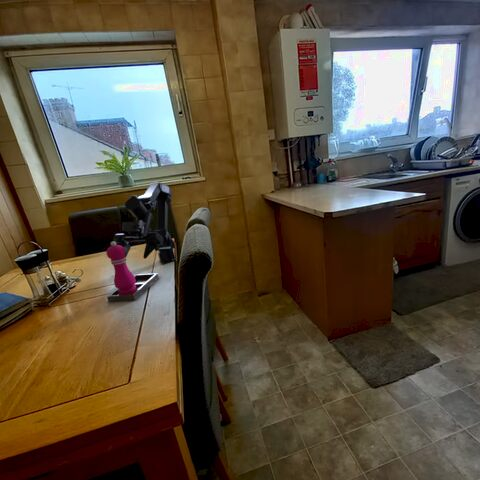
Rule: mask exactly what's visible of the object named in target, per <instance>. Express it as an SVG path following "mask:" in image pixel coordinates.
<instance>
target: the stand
mask: <svg viewBox="0 0 480 480" xmlns="http://www.w3.org/2000/svg"><path fill="white" fill-rule="evenodd" d="M133 275H134V277H135V279H136V282H135V284H134V285H136V287H137V290H136V291H135V292H134V293H133V294H125V295H119V292H118V290H119V289H118V288H116V289H115V290H113V291H112V292H110V293H109V294H108V295H107V296H106V298H107V302H109V303H114V302H130V301H136V300H137V299H138V298H139V297H140V296H142V295H143V294H144V293H145V292H146V291H147V290H148V289H149V288H150V287H151V286H152V285H153V284H154V283H155V282H156V281H157V280H158V279H160V277H159V274H158V272H155V273H140V274H133Z"/></svg>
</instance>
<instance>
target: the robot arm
mask: <svg viewBox="0 0 480 480" xmlns="http://www.w3.org/2000/svg"><path fill="white" fill-rule="evenodd" d="M172 198H173V191H172V189H171V188H170V187H169V186H168V185H165V184H163V183H162V182H159V181H158V182H151V183H149V187H148V188H147V189H146V191H145V193H143V194H142V195H139V196H138V195H137V194H136V195H131V196H130V197H129V198H128V199H127V200H126V201H125V203H124V206H125V208H126V209H127V210H128V212H129V213H130V215H132V216H133V218H135V221H124V222H123V221H122V225H121V227H122V232H127V233H128V235H129V236H128V235H127V234H126V233H115V235H114V236H113V241H114V242H116V244H117V245H120V246H122V247H123V248H124V249H125V252H126V254H125V256H124V257H126V258H127V257H128V253H129V252H130V250H131V248H132V246H131V245H132V243H133V242H145V247H144V251H143V259H147V258H148V257H149V256H150V254H151V253H152V252H153V251H155V252H157V251H158V252H157V255H158V260H159V262H161V263H162V264H167V263H171V262H174V261H177V258H176V257H175V252H174V249H176V243H175V241H174V239H173V237H172V235H171V234H170V233H169V231H168V222H169V221H168V220H169V219H168V216H169V214H168V212H169V204H170V203H171V202H172ZM156 207H157V208H156ZM156 209H157V213H156V215H157V216H156V229H155V230H153V231H152V228H151V225H152V221H154V220H155V217H154V215H153V213H152V212H151V211H155V210H156Z"/></svg>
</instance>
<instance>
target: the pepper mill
mask: <svg viewBox="0 0 480 480" xmlns="http://www.w3.org/2000/svg"><path fill="white" fill-rule="evenodd" d="M125 254H126V252H125V249H124V248H123V247H122V246H120V245H119V244H117V242H116V241H114V240H113V241H111V242H110V246H109V247H108V248H107V249H106V256H107V258H108V259H110V264H111V265H112V266H113V269H114V277H113V285H114V287H115V288H116V289H117V288H118V289H119V290H118V292H119V295H125V294H133V293H134V292H135V291H136V290H137V287H136V285H134V284H135V282H136V279H135V277H134V275H135V274H133V273H132V272H131V270H130V269H129V268H128V265H127V256H126V257H124V256H125Z"/></svg>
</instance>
